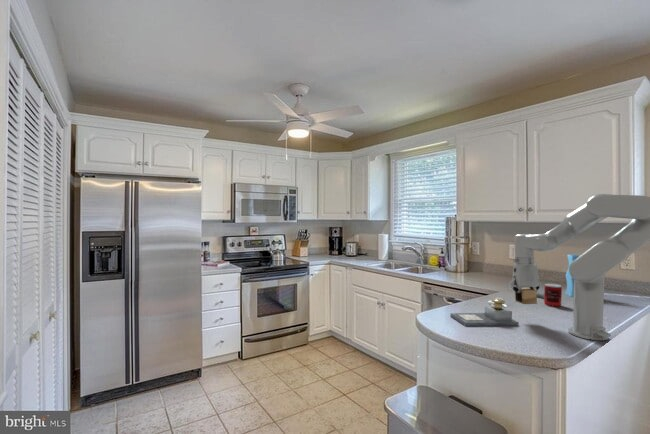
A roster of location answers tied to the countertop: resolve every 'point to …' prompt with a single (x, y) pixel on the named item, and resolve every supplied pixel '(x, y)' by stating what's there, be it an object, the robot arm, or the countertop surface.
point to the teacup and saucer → (493, 302)
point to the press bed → (486, 318)
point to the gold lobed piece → (498, 303)
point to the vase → (568, 277)
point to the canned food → (552, 295)
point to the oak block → (528, 296)
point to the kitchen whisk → (537, 292)
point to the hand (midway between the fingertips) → (525, 300)
